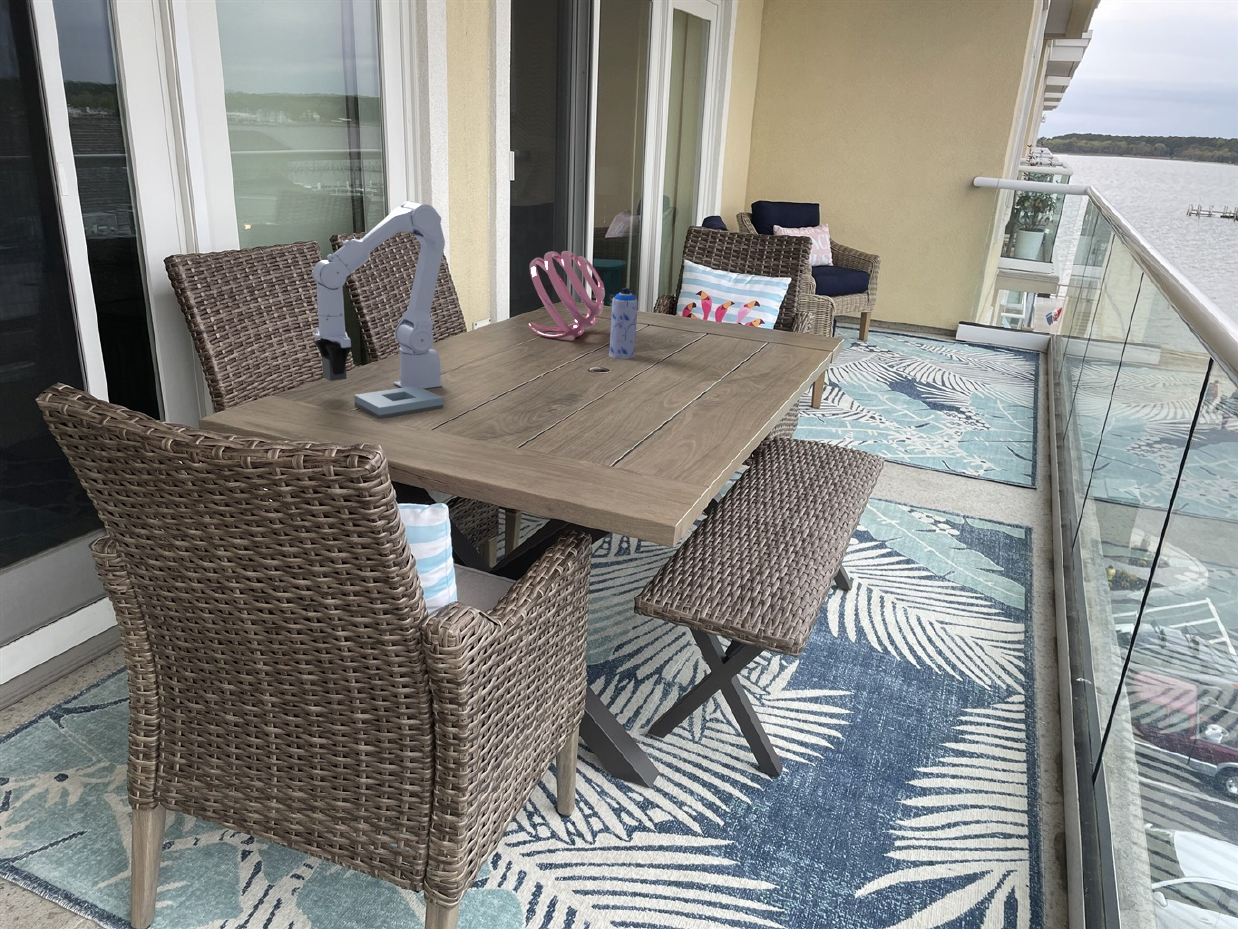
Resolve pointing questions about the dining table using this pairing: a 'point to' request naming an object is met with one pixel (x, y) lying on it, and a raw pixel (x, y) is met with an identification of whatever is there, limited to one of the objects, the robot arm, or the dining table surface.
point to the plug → (331, 370)
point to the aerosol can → (623, 325)
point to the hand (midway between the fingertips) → (334, 371)
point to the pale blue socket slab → (398, 401)
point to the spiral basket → (568, 294)
